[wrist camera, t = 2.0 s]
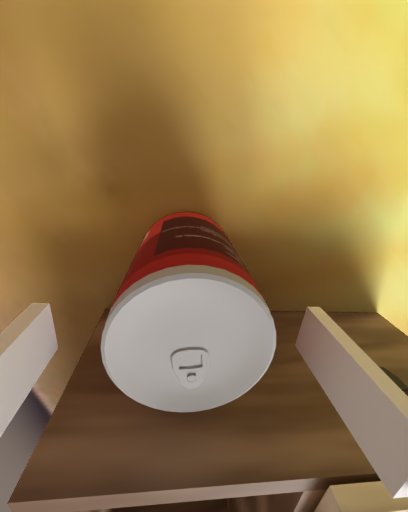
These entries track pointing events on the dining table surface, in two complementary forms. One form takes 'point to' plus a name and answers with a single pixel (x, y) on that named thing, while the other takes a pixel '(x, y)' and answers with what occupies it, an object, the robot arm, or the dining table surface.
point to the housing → (205, 438)
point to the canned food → (187, 320)
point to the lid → (361, 499)
